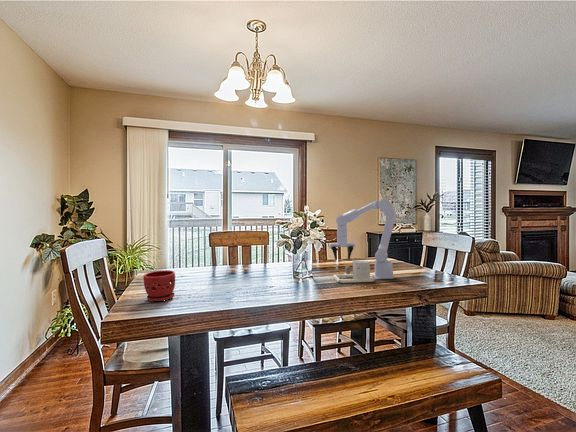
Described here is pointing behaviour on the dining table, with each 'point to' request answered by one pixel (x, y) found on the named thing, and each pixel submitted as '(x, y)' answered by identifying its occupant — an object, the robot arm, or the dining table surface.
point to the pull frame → (347, 274)
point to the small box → (361, 270)
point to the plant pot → (159, 285)
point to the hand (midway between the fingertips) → (342, 259)
